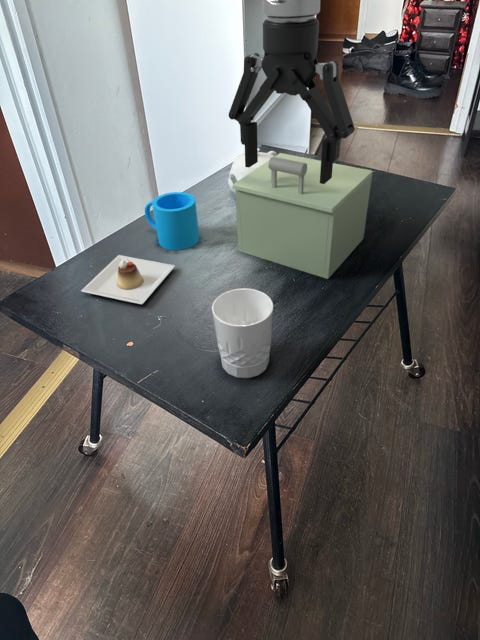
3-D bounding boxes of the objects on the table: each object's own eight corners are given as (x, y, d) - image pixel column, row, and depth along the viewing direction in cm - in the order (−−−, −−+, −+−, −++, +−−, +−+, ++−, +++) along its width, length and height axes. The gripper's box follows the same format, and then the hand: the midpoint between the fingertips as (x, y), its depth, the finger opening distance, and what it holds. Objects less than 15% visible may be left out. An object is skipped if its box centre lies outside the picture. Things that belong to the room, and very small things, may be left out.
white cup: (283, 354, 68) (284, 298, 62) (254, 390, 63) (252, 333, 57) (236, 336, 72) (233, 281, 65) (206, 368, 67) (199, 313, 60)
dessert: (176, 270, 86) (172, 247, 83) (143, 309, 78) (138, 285, 74) (119, 259, 90) (114, 237, 87) (82, 296, 81) (74, 273, 78)
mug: (207, 235, 95) (203, 197, 90) (182, 254, 90) (177, 215, 85) (161, 221, 101) (155, 185, 95) (135, 239, 95) (127, 201, 90)
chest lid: (332, 213, 73) (335, 177, 69) (232, 188, 81) (230, 155, 78) (372, 175, 83) (376, 141, 80) (280, 156, 92) (280, 125, 88)
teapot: (256, 217, 100) (254, 171, 94) (207, 205, 106) (203, 160, 99) (298, 182, 113) (299, 138, 106) (253, 172, 118) (252, 131, 112)
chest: (328, 279, 82) (334, 211, 74) (238, 251, 90) (235, 187, 82) (363, 239, 92) (372, 175, 83) (279, 217, 100) (280, 157, 92)
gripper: (198, 17, 66) (211, 166, 80) (369, 27, 55) (350, 197, 69) (229, 9, 71) (236, 151, 84) (392, 17, 60) (369, 178, 73)
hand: (287, 172), depth 77 cm, fingers open, 13 cm apart
